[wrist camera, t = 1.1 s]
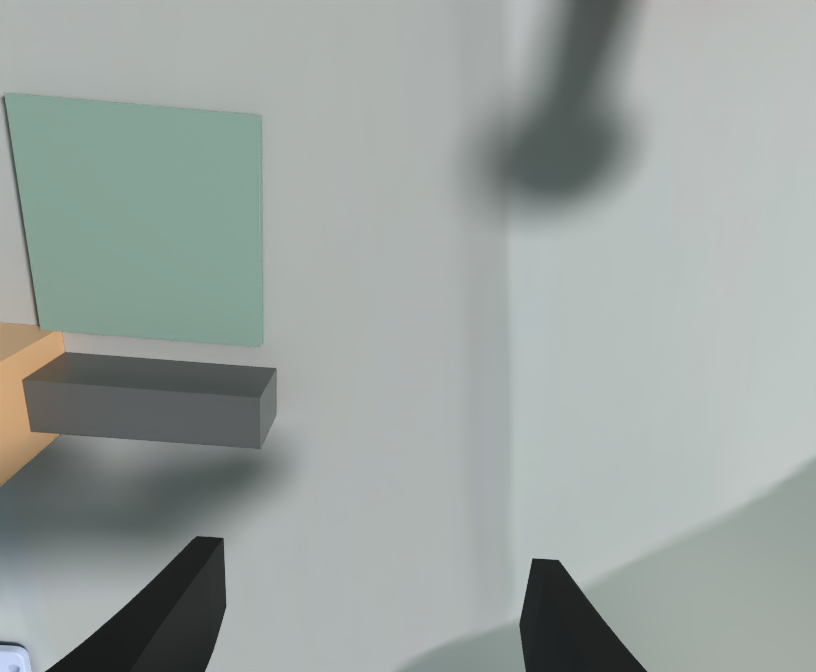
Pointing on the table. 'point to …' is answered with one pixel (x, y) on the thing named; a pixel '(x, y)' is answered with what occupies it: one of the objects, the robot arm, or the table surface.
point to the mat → (141, 218)
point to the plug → (122, 398)
